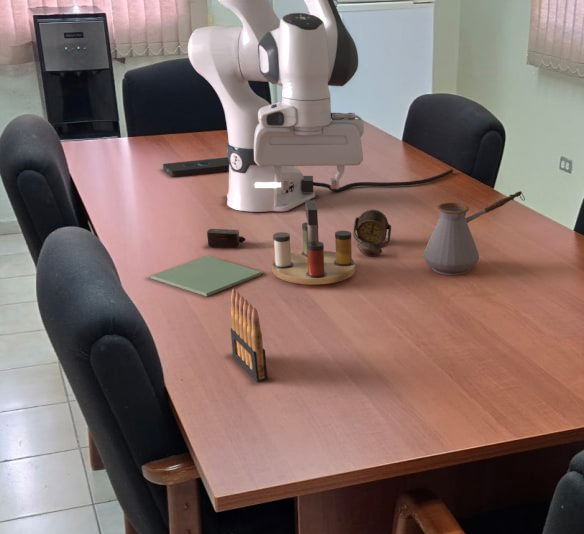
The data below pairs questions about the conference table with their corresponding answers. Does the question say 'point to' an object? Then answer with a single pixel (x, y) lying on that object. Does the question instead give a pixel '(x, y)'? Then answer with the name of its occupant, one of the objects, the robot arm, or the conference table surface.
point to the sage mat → (206, 275)
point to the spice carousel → (318, 256)
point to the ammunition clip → (247, 338)
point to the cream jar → (282, 249)
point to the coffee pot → (455, 238)
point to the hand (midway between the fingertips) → (310, 188)
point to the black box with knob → (224, 238)
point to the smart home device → (197, 167)
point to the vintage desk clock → (371, 232)
